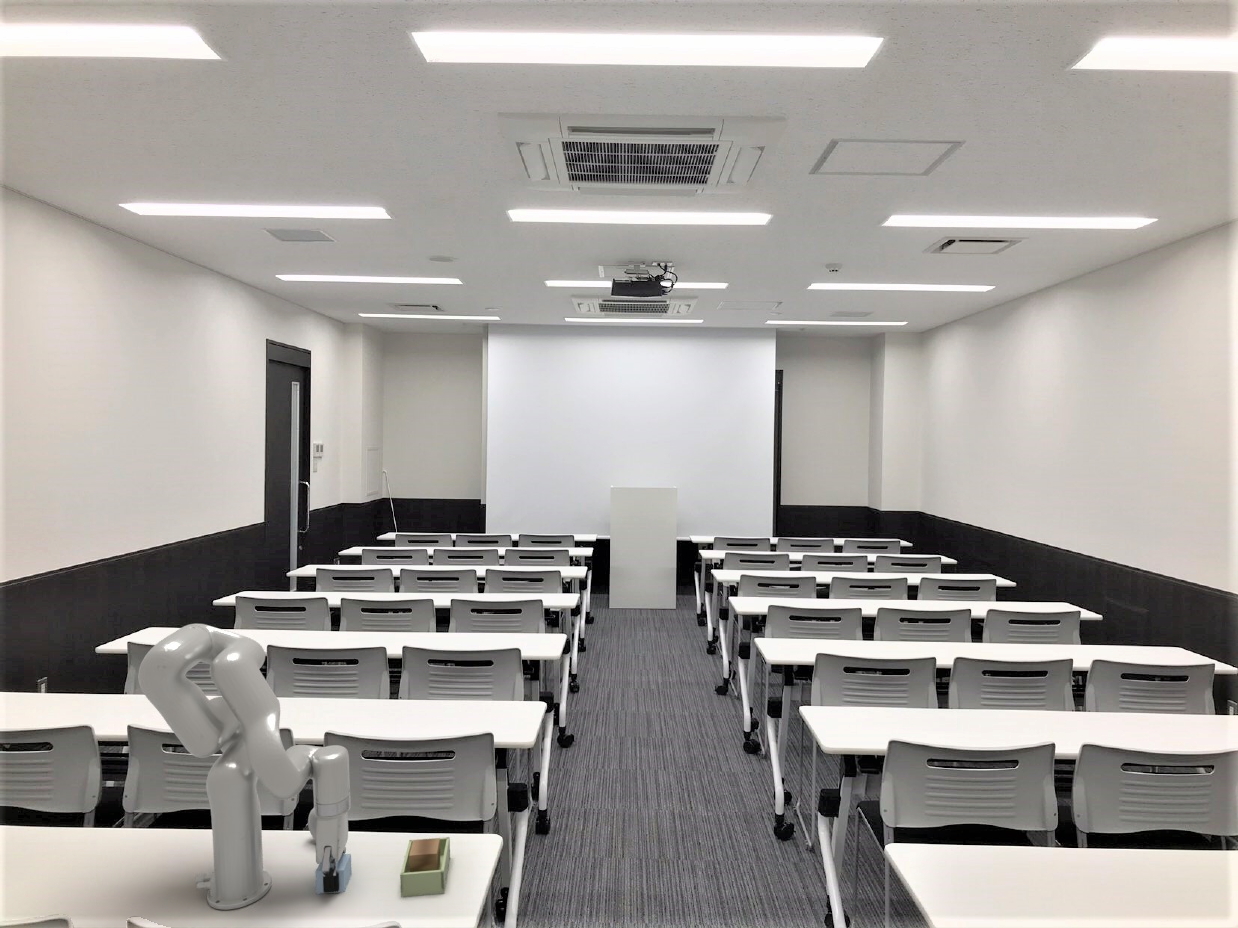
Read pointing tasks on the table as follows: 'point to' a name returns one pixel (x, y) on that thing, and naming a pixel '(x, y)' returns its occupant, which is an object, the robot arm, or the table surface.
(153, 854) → the table surface
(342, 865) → the blue carton
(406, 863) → the box
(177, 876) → the table surface
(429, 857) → the walnut block
